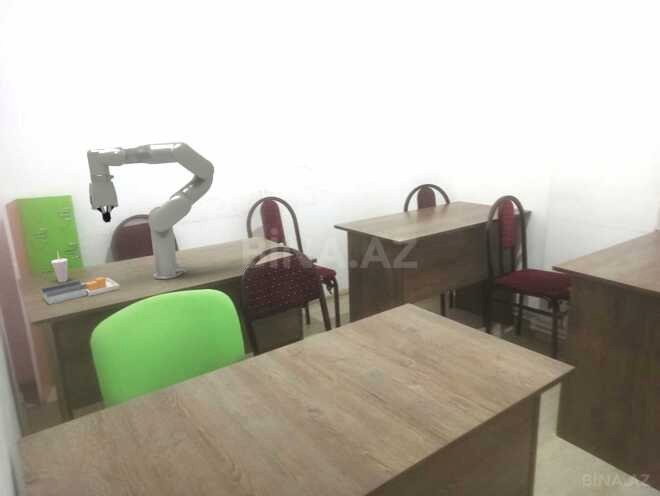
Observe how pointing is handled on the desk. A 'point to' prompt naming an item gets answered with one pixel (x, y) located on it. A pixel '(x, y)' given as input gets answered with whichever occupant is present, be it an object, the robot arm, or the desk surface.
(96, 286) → the chip
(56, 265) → the smoothie
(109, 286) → the tray
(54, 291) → the slot block
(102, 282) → the orange square block
